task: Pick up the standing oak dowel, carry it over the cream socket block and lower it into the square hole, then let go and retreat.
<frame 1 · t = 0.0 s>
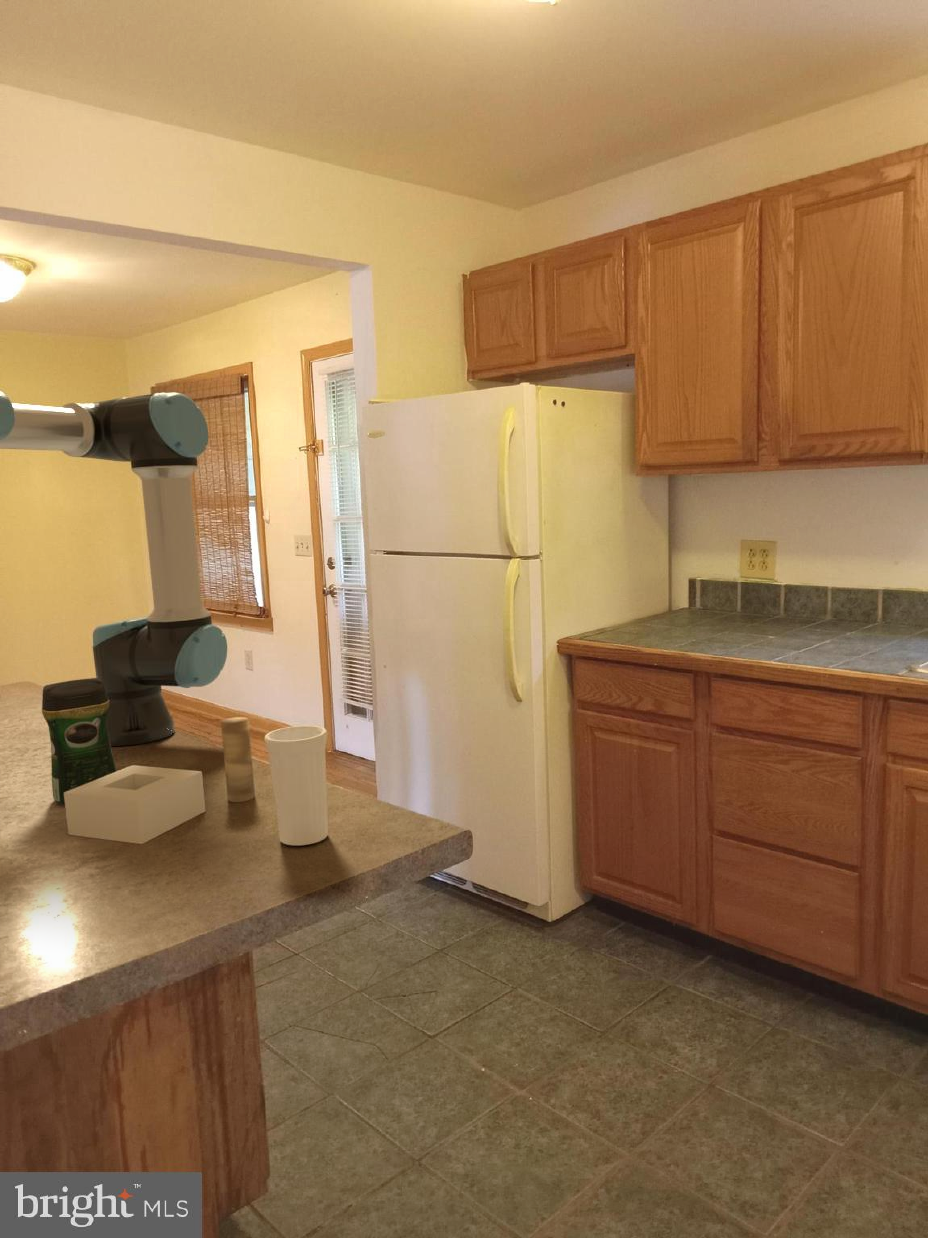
coffee jar: (86, 798, 141), on the counter
cup: (304, 840, 119), on the counter
dowel: (241, 797, 137), on the counter
socket block: (138, 822, 128), on the counter
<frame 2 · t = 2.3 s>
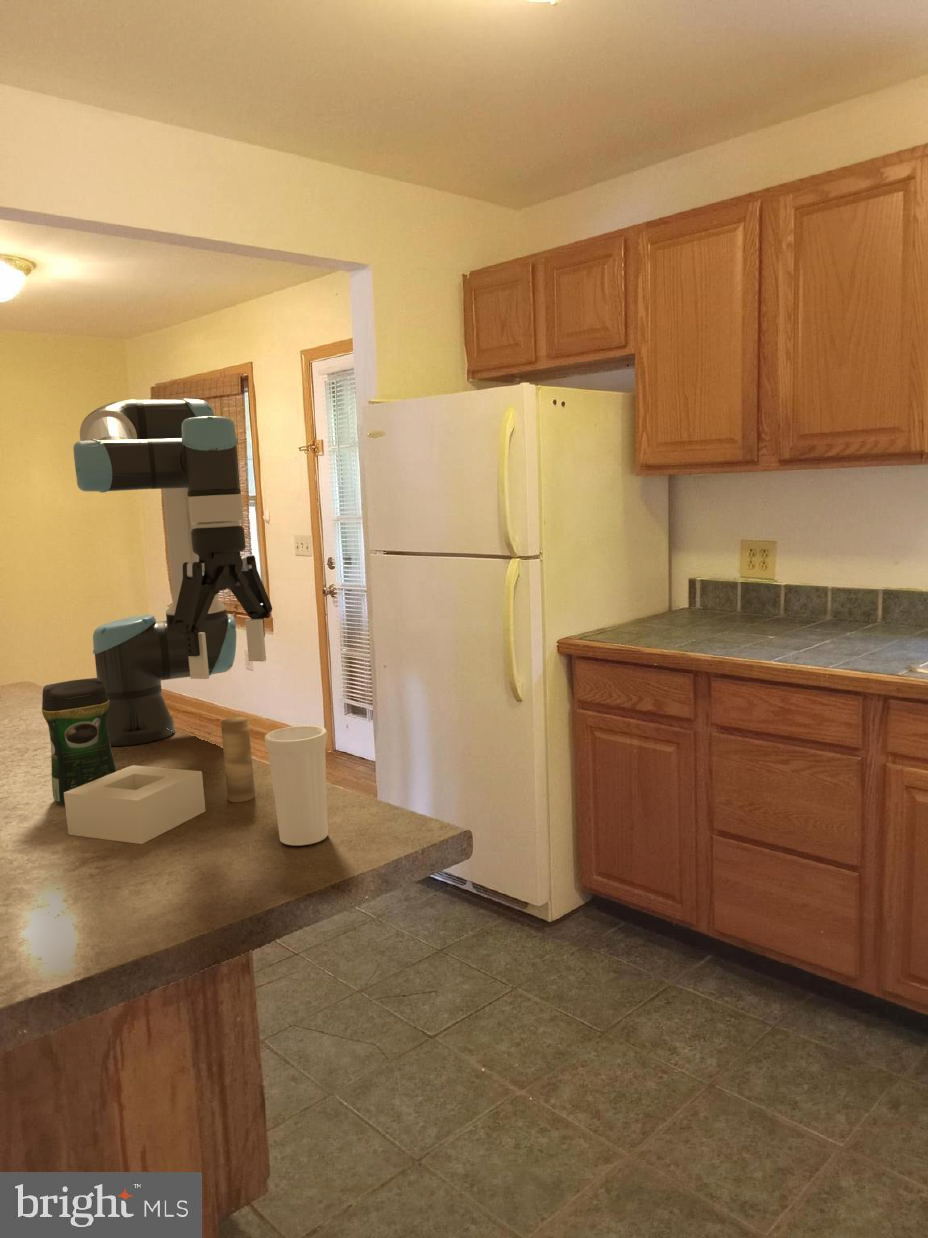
hand: (230, 669, 134), 20 cm above the counter, fingers open, 13 cm apart
nothing on the counter moved.
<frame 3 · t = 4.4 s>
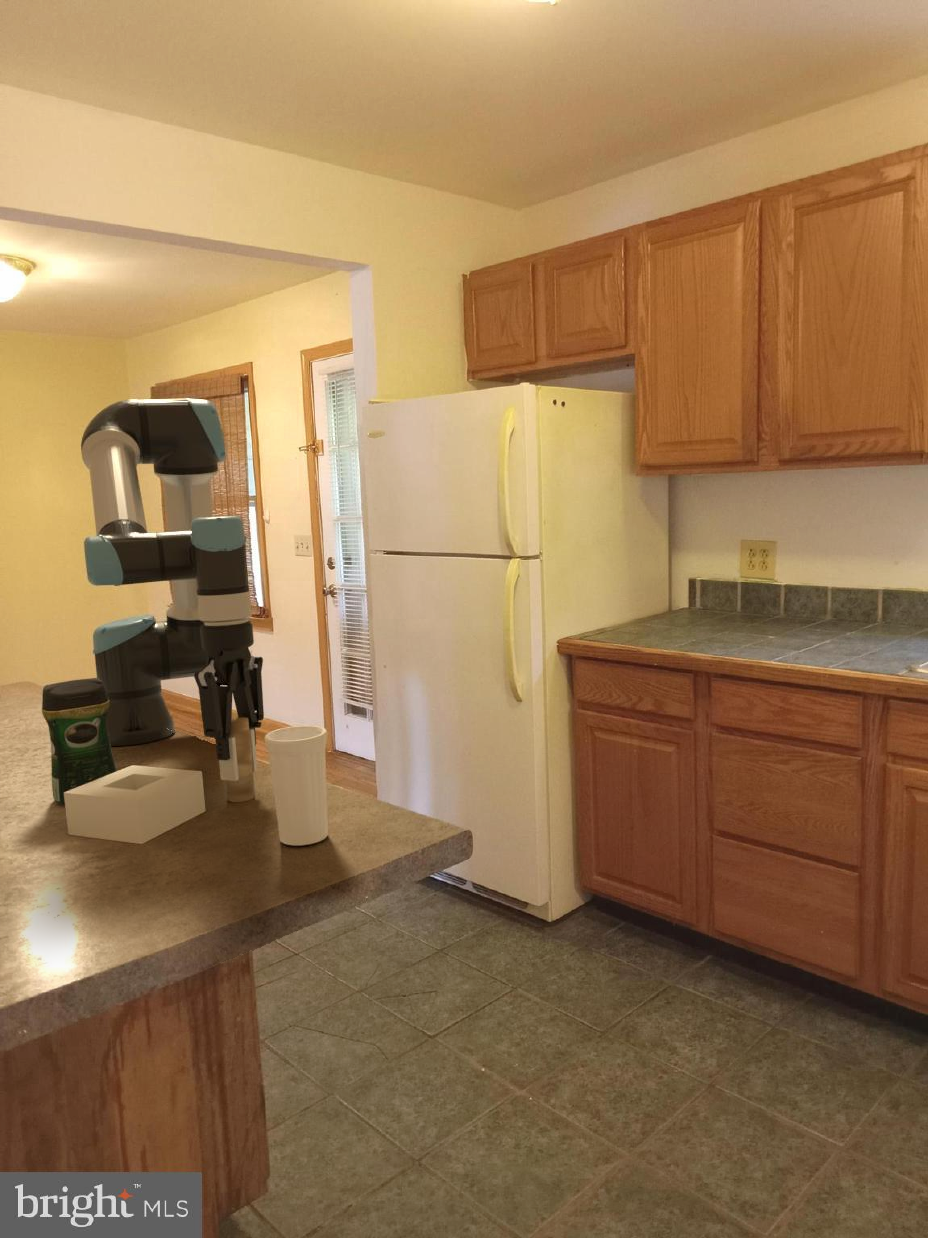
hand: (239, 774, 137), 4 cm above the counter, fingers closed on dowel, 4 cm apart
dowel: (241, 797, 137), on the counter, touching gripper
everything else where it was.
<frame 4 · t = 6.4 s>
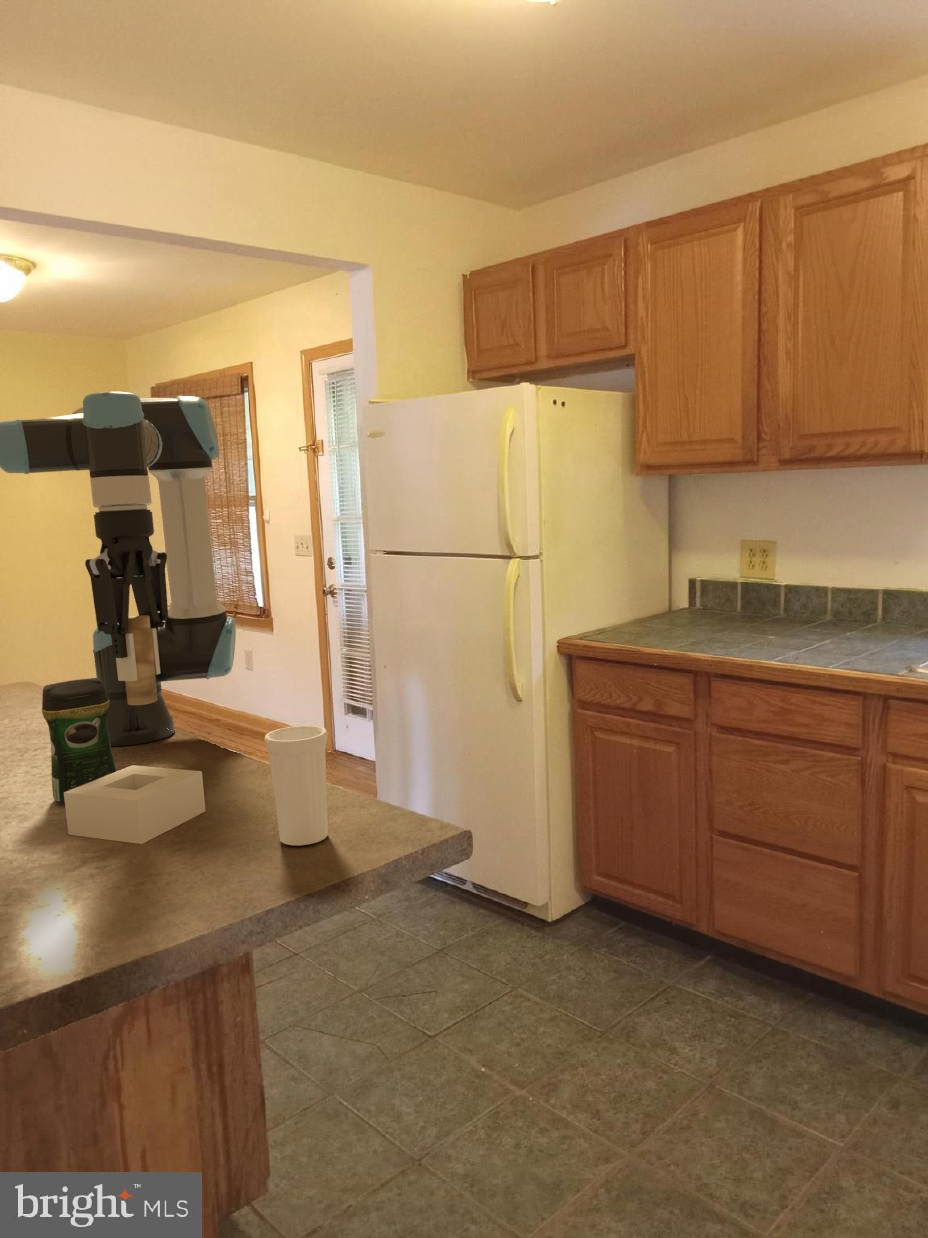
hand: (139, 676, 127), 21 cm above the counter, fingers closed on dowel, 4 cm apart
dowel: (142, 702, 127), point 17 cm above the counter, touching gripper
everything else where it was.
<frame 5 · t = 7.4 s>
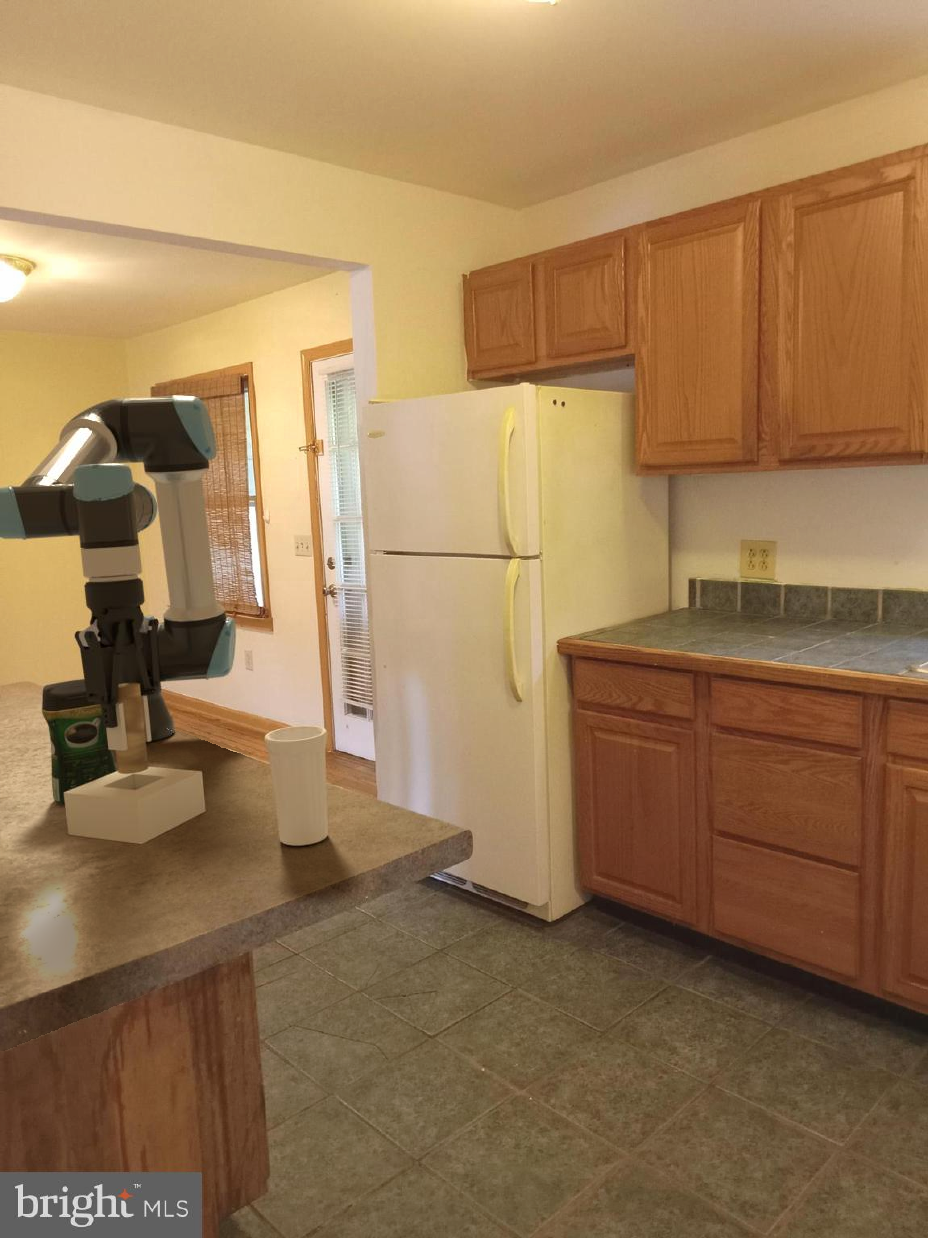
hand: (130, 744, 127), 11 cm above the counter, fingers closed on dowel, 4 cm apart
dowel: (133, 769, 127), point 8 cm above the counter, touching gripper
everything else where it was.
when the fingers open (8 cm above the counter, at t = 8.4 s): dowel drops 4 cm, resting in socket block.
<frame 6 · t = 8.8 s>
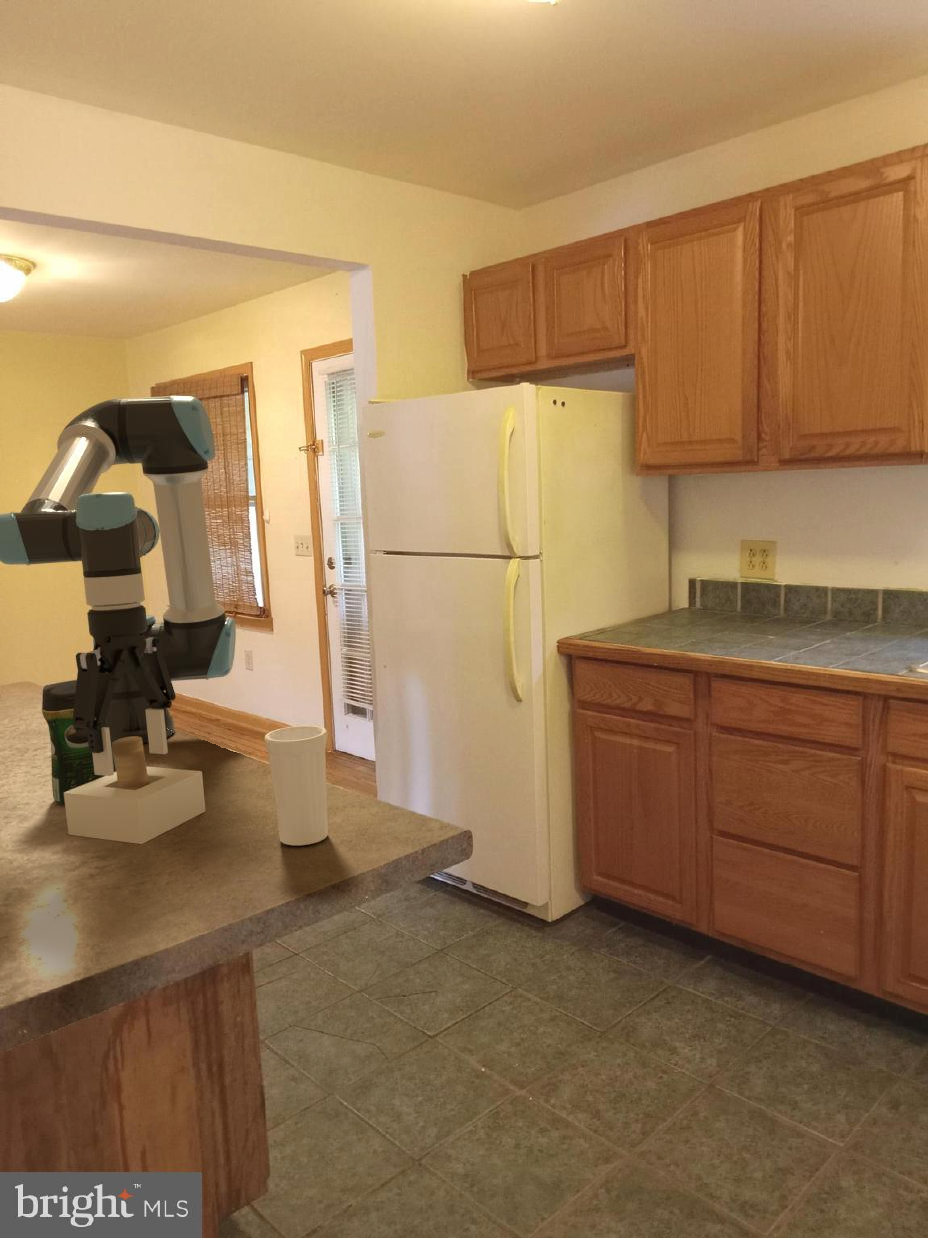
hand: (132, 763, 127), 9 cm above the counter, fingers open, 10 cm apart
dowel: (139, 821, 128), resting in socket block
everything else where it was.
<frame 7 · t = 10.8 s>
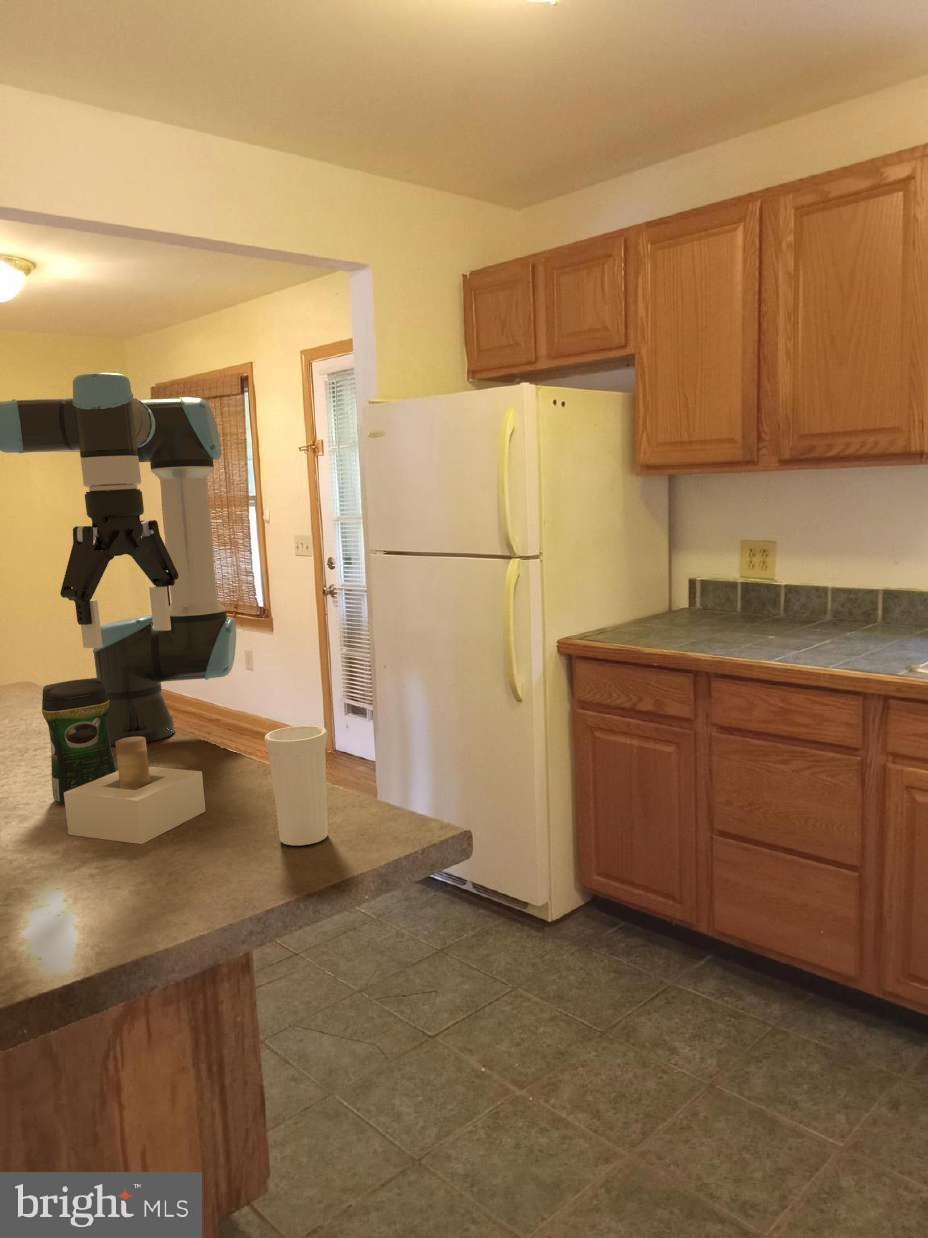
hand: (129, 638, 129), 26 cm above the counter, fingers open, 13 cm apart
nothing on the counter moved.
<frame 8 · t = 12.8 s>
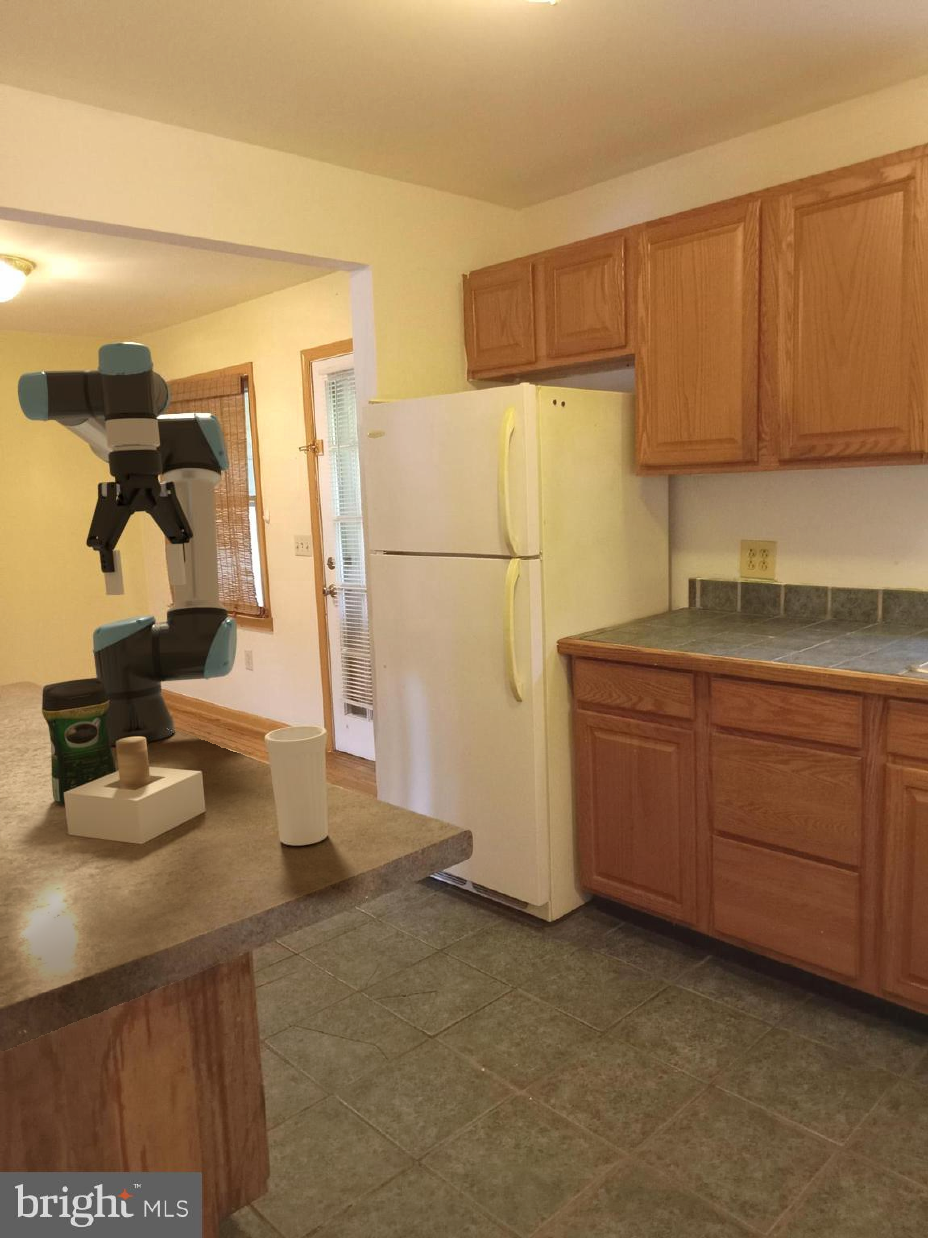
hand: (148, 589, 140), 32 cm above the counter, fingers open, 13 cm apart
nothing on the counter moved.
at the end: dowel 0.1 cm off-centre on the socket block, point 0.0 cm above the socket block's base; dowel tilted 1°; the gripper is holding nothing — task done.
